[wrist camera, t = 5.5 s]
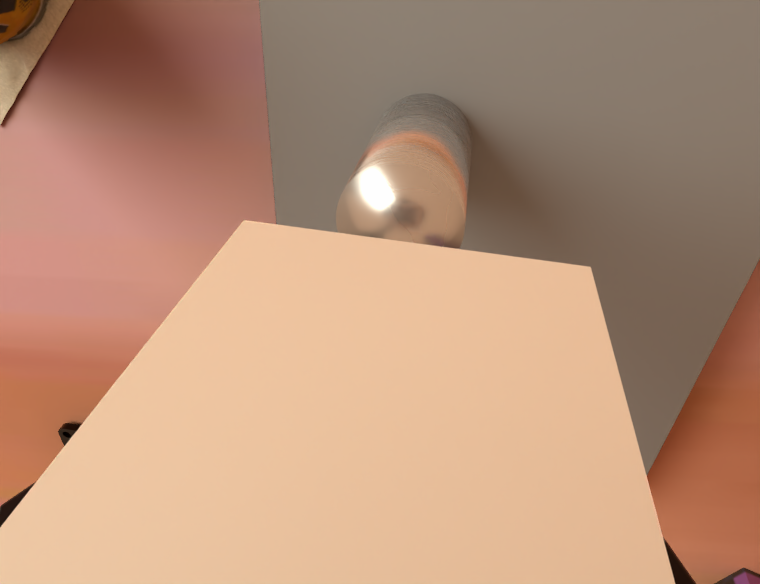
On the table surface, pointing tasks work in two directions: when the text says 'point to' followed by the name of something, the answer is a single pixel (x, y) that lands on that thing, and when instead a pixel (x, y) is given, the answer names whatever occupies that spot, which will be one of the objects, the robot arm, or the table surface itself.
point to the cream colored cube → (355, 431)
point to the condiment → (24, 41)
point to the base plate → (554, 148)
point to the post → (412, 176)
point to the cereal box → (741, 578)
